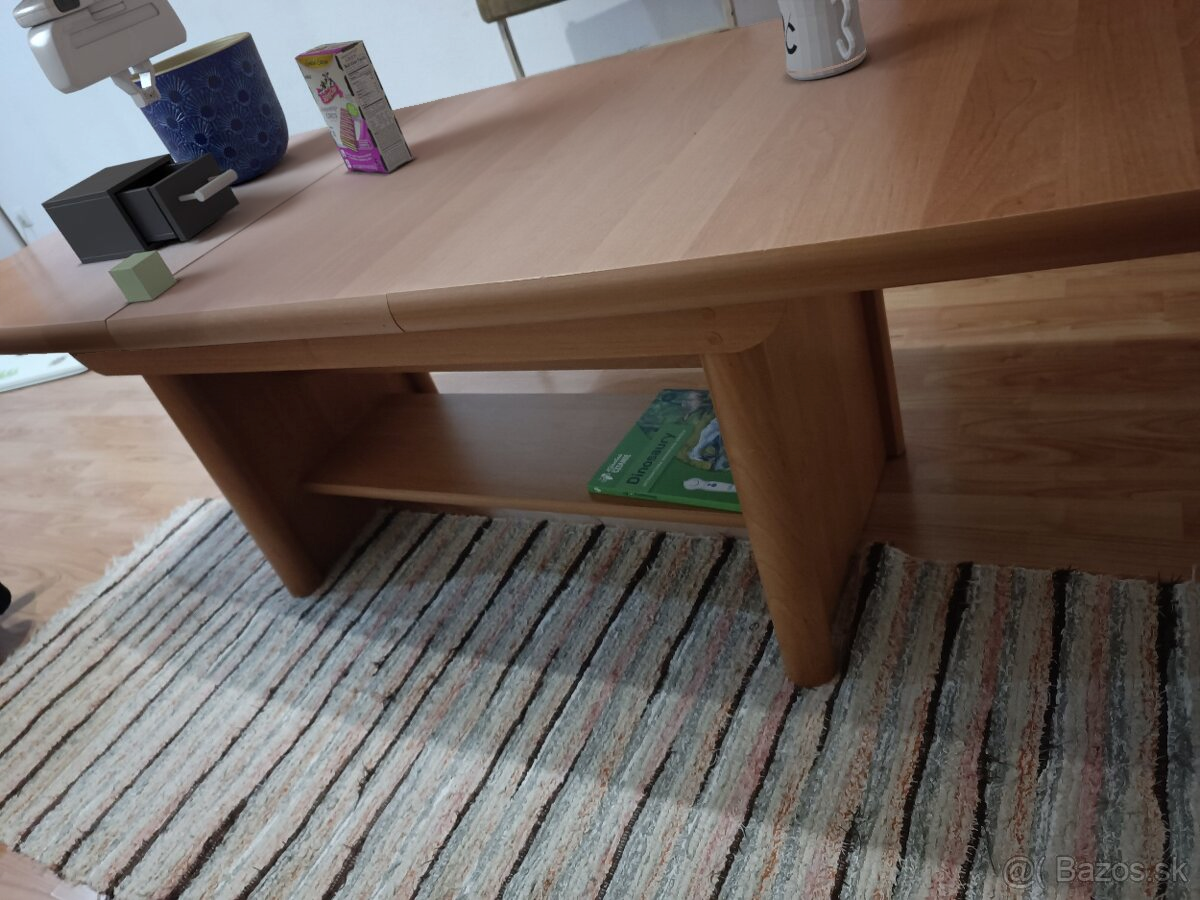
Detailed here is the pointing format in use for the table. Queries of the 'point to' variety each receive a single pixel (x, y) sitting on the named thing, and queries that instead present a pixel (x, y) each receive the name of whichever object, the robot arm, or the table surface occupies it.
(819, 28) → the mug
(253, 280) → the table surface
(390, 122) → the candy bar box
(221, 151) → the planter
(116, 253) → the cabinet
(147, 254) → the block
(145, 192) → the drawer
